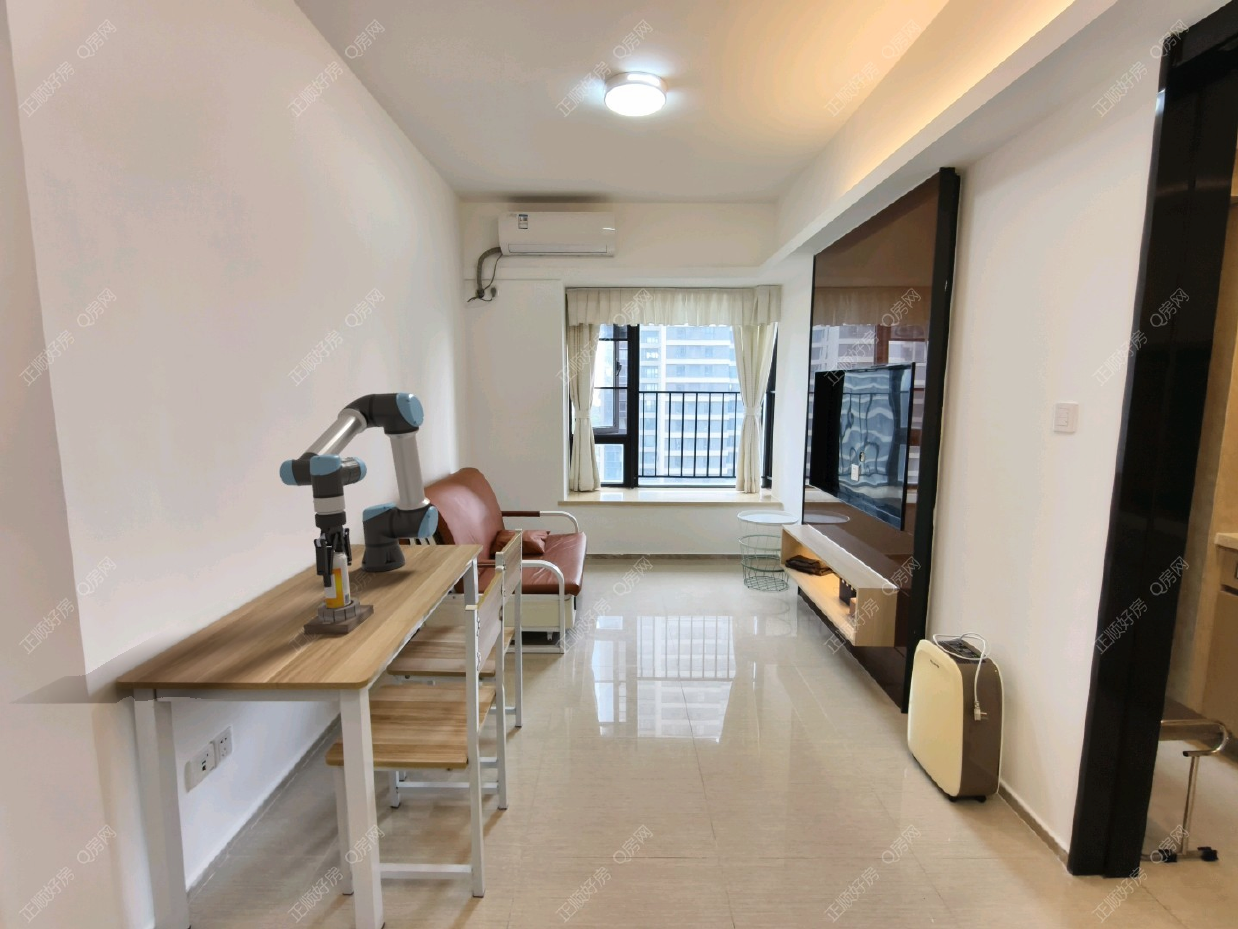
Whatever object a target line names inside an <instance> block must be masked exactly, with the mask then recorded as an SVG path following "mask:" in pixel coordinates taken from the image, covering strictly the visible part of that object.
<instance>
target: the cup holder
mask: <svg viewBox="0 0 1238 929" xmlns="http://www.w3.org/2000/svg"><path fill="white" fill-rule="evenodd" d="M350 600H351V602H350V604H349V606H347V607H344V608H339V609H329V608H327V607H326V601H325V602H322V603H320V604H319V605H318V606H317V609H316V610H317V616H315V617H314V618H312V619H310V620H309V621H307V622H306V623H305V624H303V632H304V635H315V634H316V635H326V634H332V635H337V634H342V635H343V634H348V635H349V633H351V632H353V631H354V630H355V629H356V628H357V627H358V626H359V625H361V624H362V623H363V622H365V621H366V620H367V619H368V618H370V617H371V616H373V614H374V604H361V600H360V598H357V597H355V596H354V597H353V596H350Z"/></svg>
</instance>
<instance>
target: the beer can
mask: <svg viewBox="0 0 1238 929" xmlns="http://www.w3.org/2000/svg"><path fill="white" fill-rule="evenodd" d="M347 558H348V557H346V555H345V553H344V552H335V551H334V557H333V569H332V574H334V575H335V586H336V598H325V602H326V607H327V608H329V609H339V608H344V607H347V606H349V604H350V602H351V600H350V597H351V591H350V590H351V588H350V578H348V577H349V568H348V567H349V566H348V567H347ZM349 588H350V589H349Z"/></svg>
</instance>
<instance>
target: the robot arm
mask: <svg viewBox="0 0 1238 929" xmlns="http://www.w3.org/2000/svg"><path fill="white" fill-rule="evenodd" d="M424 416H425V415H424V409H423V406H422V403H421V401H420V400H419V398H418V397H417V396H416V395H415V394H413V393H408V392H391V393H390V392H387V393H370V394H365V395H363V396H360V397H358V398H357V399H355V400H353V401H351V402H350V403H348V404H347V405H346V406H345V407H343V408H342V409H341V410H340V411H339V413H338V414H337V419H336V420H335V421H334V422H333V423H332V424H331V425H330V426H329V427H328V428H327V429H326V430H325V431H324V432H323V433H322V434H321V435H320V436H319V437H318V438H317V439H316V440H315V441H314V442H313V443H312V445H310V446H309V447H308V448H307V449H306V450H305V451H304V453H302V454H301V455H300V456H299V457H298V458H297V459H294V458H292V459H288V460H287V459H286V460H284V461H283V462H282V463H281V464H280V467H279V477H280V480H281V482H282V483H283V484H284V485H286V486H295V487H303V486H311V489H312V498H313V501H312V503H313V509H314V512H315V514H314V521H315V522H314V523H315V524H314V525H315V527H316V528H317V529H319V530H320V534H319V537H318V538H315V539H313V544H314V548H315V564H316V565H315V566H316V576H319V577H320V576H322V579H323V587H324V597H325V598H336V586H335V575H334V574H332V569H333V557H334V552H344V553H345V555H346V557H347V567H350V566H352V564H353V563H352V561H353V556H352V549H351V541H350V540H351V539H350V528H349V527H343V526H345V525H346V524H347V513H346V511H345V509H346V501H345V493H344V491H345V490H344V486H348V485H352V484H353V485H354V484H357V483H358V482H360V481H362V480H364V479H365V477H366V475H367V471H368V470H367V465H366V463H365V461H363V460H362V459H361V458H358V457H357V456H355V457H353V456H351V457H349V456H348V457H346V458H341V456H340V455H341V454H340V453H341V452H342V451H343V450H344V449H345V448H346V447H347V446H348V445H349V443H350V442H352V440H353V439H354V438H355V437H356V436H357V435H359V434H361V433H363V432H364V431H366V430H368V429H371V428H382V429H383V433H384V435H386V436H387V437H388V438H389V442H390V448H391V451H392V452H391V453H392V454H391V455H392V458H393V465H394V470H395V477H396V483H397V490H398V495H399V502H398V503H397V504H396V503H395V502H388V503H382V504H377V505H372V506H369V507H366V508H365V509H363V511H362V528H363V529H362V530H363V537H364V538H363V539H364V551H363V555H362V558H361V570H362V571H364V572H369V573H370V572H377V573H378V572H385V571H390V570H395V569H398V568H400V567H402V566H404V565H405V564H406V557H405V555H404V552H403V550H402V548H401V546H400V544H399V539H403V540H404V539H419V540H421V539H429V538H430V537H432V536H433V535H434V534H435V533H436V530H437V526H438V522H439V512H438V509H437V507H436V506H434V505H432V506H431V500H430V499H429V498H427V497H426V495H425V488H424V482H423V475H422V468H421V462H420V456H419V449H418V448H419V447H418V443H417V436H416V435H417V433H418V432H419V431H420V426H422V425H423V424H424ZM348 578H349V576H348ZM349 579H350V578H349ZM349 589H350V590H351V588H350V587H349Z"/></svg>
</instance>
